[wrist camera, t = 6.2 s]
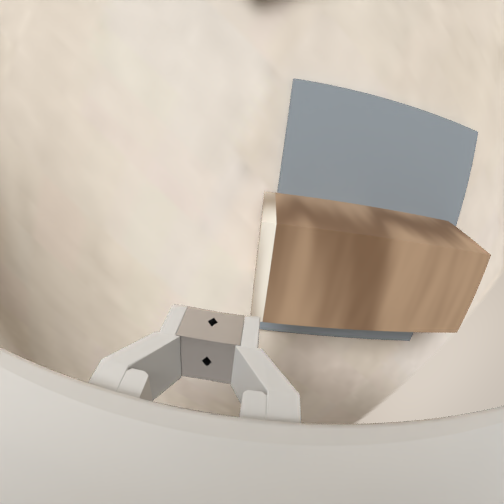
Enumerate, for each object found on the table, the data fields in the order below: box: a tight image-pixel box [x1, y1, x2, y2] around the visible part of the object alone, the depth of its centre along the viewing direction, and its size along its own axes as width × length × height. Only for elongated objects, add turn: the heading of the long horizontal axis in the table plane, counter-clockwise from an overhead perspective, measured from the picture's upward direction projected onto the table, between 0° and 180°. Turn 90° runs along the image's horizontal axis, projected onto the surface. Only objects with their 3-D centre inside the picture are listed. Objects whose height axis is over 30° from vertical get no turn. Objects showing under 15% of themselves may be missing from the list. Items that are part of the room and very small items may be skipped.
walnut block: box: [250, 191, 491, 332], centre depth 16 cm, size 5×5×12 cm
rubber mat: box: [260, 79, 478, 341], centre depth 18 cm, size 12×16×1 cm
